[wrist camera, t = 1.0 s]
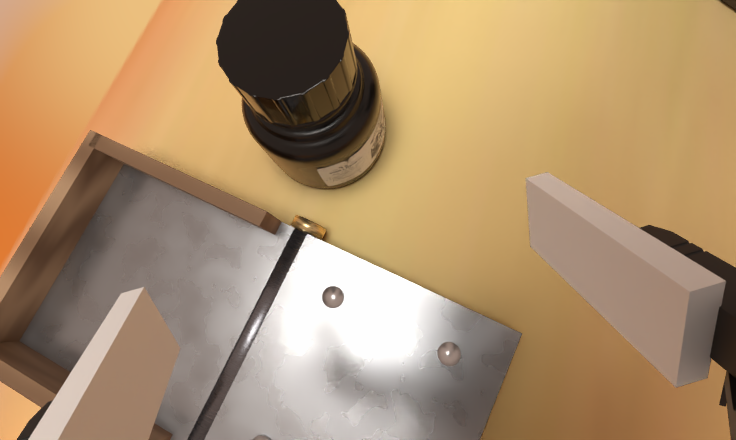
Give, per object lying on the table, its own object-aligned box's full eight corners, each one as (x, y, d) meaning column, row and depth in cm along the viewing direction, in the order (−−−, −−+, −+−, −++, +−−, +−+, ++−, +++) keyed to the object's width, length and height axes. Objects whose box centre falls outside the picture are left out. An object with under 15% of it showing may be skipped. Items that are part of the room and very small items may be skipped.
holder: (120, 146, 31) (90, 129, 29) (281, 221, 29) (266, 211, 26) (0, 348, 29) (-46, 351, 26) (164, 449, 26) (133, 466, 24)
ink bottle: (363, 210, 31) (332, 148, 19) (255, 178, 33) (166, 103, 21) (402, 93, 33) (395, -29, 21) (298, 68, 34) (237, -59, 23)
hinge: (147, 149, 34) (123, 134, 31) (517, 319, 28) (528, 319, 26) (25, 356, 31) (-11, 360, 29) (407, 591, 26) (407, 625, 23)
